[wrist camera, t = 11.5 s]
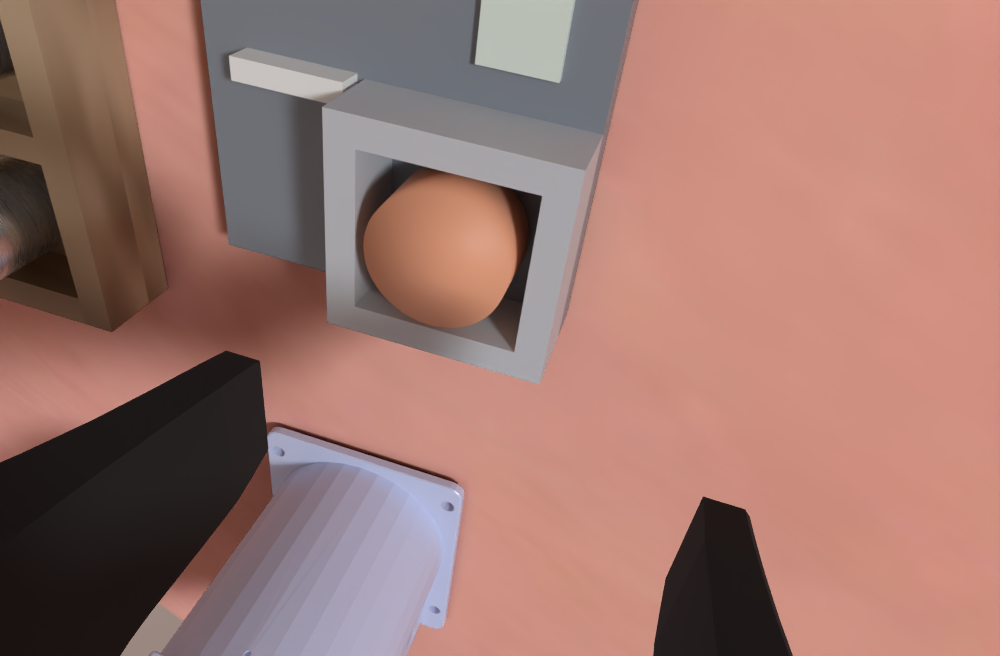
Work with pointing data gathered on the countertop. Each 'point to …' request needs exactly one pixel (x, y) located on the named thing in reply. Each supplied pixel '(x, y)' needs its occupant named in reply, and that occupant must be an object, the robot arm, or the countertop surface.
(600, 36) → the grey board with box
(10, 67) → the cylinder
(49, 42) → the wooden divided tray
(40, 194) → the cell
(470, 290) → the button
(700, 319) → the countertop surface
